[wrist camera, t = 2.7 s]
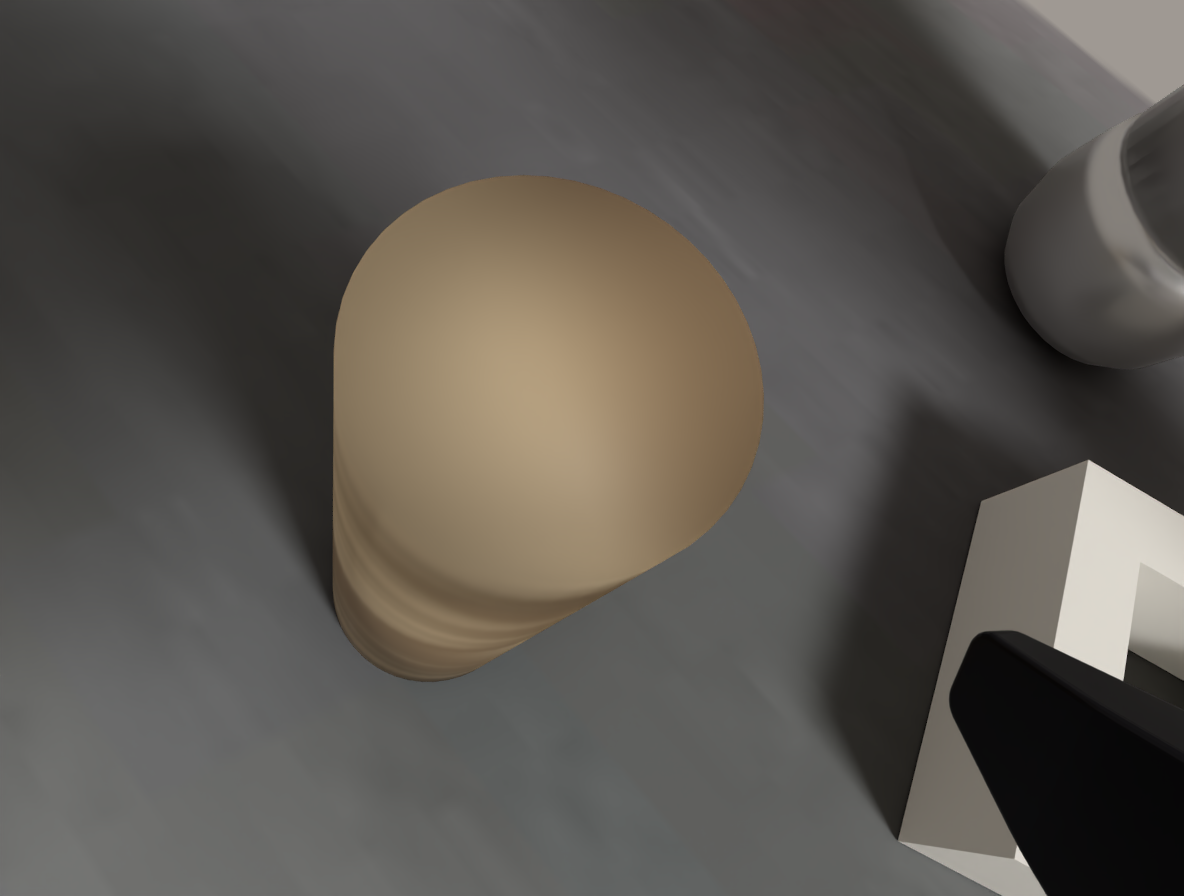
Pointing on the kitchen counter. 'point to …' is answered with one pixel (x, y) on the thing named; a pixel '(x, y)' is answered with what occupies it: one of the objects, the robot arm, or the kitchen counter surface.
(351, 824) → the kitchen counter surface
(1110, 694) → the robot arm
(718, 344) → the peg
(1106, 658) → the socket
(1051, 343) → the plastic bottle
